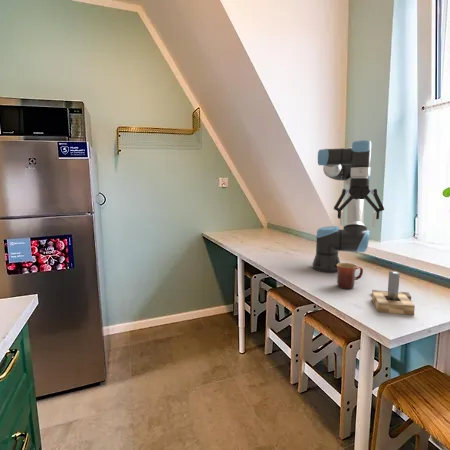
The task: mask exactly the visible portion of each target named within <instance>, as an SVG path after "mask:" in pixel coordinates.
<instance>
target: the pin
mask: <svg viewBox="0 0 450 450" xmlns="http://www.w3.org/2000/svg"><path fill="white" fill-rule="evenodd" d="M400 275H401V273H400V272H399V271H395V270H391V271H390V270H389V271H388V284H387V286H388V287H387V291H388V295H387V300H391V301H398V292H400V291H399V288H400Z"/></svg>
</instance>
